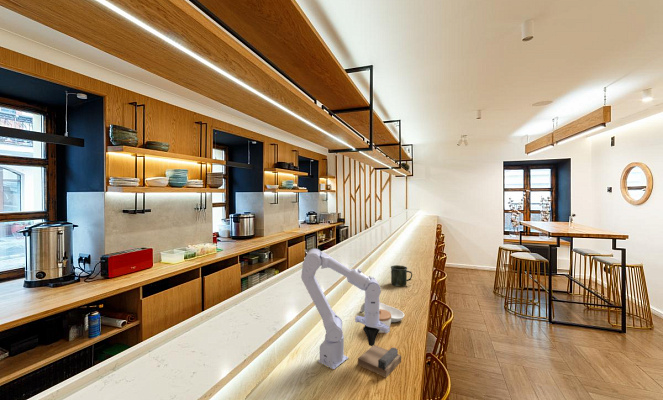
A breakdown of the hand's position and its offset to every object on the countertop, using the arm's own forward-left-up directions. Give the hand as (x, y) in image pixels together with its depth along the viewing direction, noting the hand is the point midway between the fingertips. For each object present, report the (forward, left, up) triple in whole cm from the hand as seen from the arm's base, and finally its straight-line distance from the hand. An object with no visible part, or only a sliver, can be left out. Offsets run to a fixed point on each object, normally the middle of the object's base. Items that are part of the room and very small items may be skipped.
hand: (371, 344), depth 113 cm
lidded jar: (+23, +9, -6) cm, 26 cm away
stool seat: (0, -4, -6) cm, 7 cm away
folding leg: (-1, -8, -3) cm, 8 cm away
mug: (+88, +29, -6) cm, 93 cm away
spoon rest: (+36, +16, -7) cm, 40 cm away
